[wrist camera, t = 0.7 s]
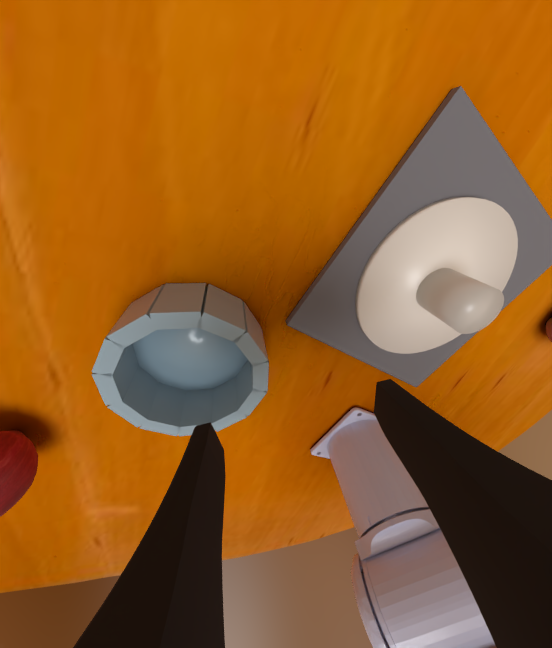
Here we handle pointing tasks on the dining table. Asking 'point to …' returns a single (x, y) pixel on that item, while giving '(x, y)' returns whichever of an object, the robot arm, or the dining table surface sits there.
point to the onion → (15, 467)
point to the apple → (549, 329)
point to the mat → (405, 199)
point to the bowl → (183, 360)
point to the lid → (437, 275)
